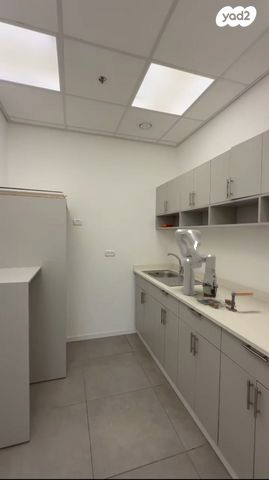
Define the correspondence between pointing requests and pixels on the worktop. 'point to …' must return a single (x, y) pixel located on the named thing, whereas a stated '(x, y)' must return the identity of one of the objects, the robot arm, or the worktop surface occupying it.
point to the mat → (207, 301)
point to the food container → (208, 291)
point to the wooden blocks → (226, 303)
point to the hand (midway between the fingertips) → (209, 292)
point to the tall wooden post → (241, 293)
